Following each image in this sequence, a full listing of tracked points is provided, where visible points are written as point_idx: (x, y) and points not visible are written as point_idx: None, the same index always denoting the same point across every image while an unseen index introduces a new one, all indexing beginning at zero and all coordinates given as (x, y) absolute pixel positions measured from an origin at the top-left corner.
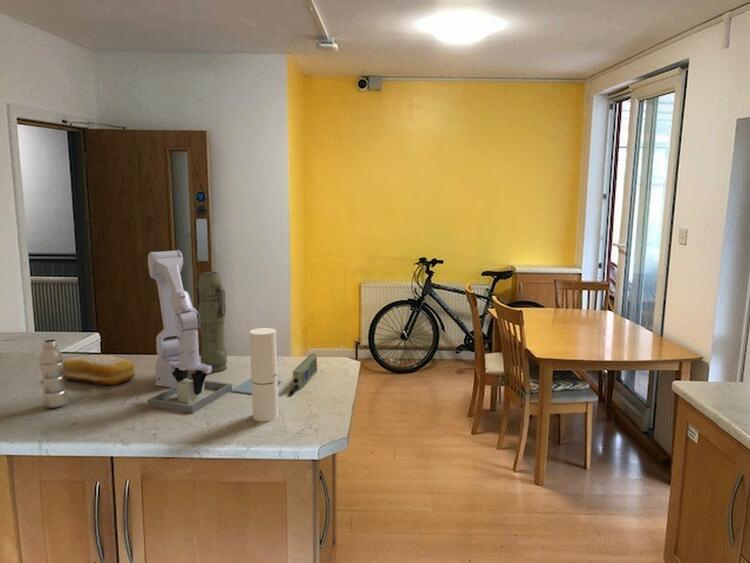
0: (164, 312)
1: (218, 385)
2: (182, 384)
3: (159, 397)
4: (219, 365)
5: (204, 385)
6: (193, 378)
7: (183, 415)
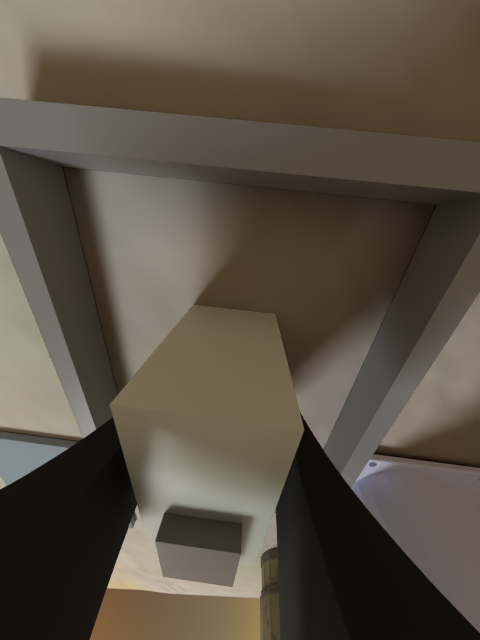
0: None
1: None
2: (204, 408)
3: (426, 294)
4: (270, 586)
5: None
6: (17, 534)
7: (50, 41)
